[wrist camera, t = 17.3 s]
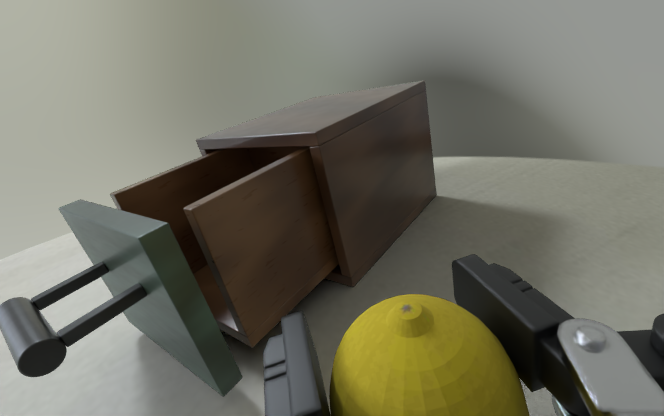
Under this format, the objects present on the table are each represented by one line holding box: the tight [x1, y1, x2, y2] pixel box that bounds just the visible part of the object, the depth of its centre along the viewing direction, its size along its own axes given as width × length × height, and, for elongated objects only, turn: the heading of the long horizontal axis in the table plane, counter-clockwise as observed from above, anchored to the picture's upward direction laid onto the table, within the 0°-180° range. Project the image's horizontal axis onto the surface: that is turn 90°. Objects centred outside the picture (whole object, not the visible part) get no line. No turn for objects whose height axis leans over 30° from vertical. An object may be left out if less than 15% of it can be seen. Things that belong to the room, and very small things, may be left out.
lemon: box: [329, 294, 529, 416], centre depth 10 cm, size 6×6×8 cm
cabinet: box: [196, 80, 436, 287], centre depth 29 cm, size 15×13×11 cm
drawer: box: [0, 146, 339, 397], centre depth 20 cm, size 18×11×9 cm, turn 142°
